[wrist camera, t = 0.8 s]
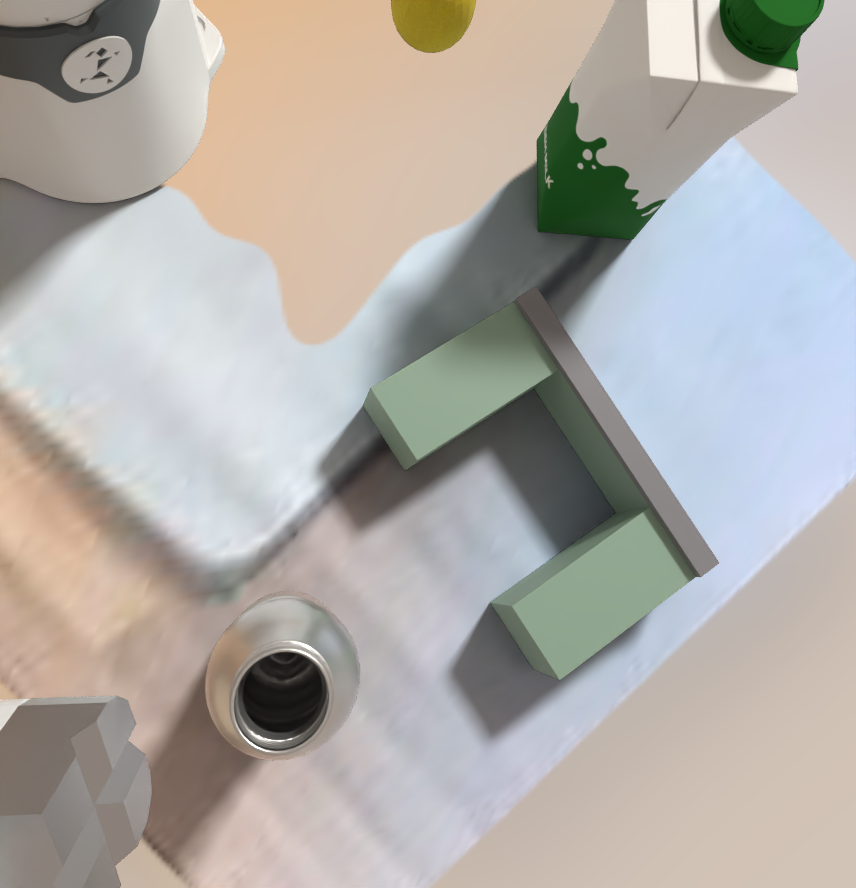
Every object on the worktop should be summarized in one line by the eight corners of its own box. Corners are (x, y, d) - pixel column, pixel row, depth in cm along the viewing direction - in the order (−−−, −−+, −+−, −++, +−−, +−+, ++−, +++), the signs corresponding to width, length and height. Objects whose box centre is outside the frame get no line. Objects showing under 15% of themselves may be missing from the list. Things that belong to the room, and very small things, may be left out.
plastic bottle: (208, 673, 45) (146, 752, 26) (266, 570, 47) (248, 571, 27) (305, 722, 46) (315, 836, 26) (358, 619, 47) (406, 655, 28)
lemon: (464, 78, 54) (492, -4, 47) (386, 74, 53) (403, -10, 46) (458, 8, 55) (486, -84, 48) (382, 3, 54) (397, -92, 47)
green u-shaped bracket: (362, 405, 49) (371, 385, 44) (510, 315, 52) (536, 286, 47) (532, 669, 49) (563, 681, 43) (674, 563, 51) (719, 563, 46)
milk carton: (645, 253, 55) (840, 80, 35) (523, 243, 53) (656, 56, 34) (640, 139, 56) (825, -87, 37) (521, 126, 55) (648, -117, 35)
